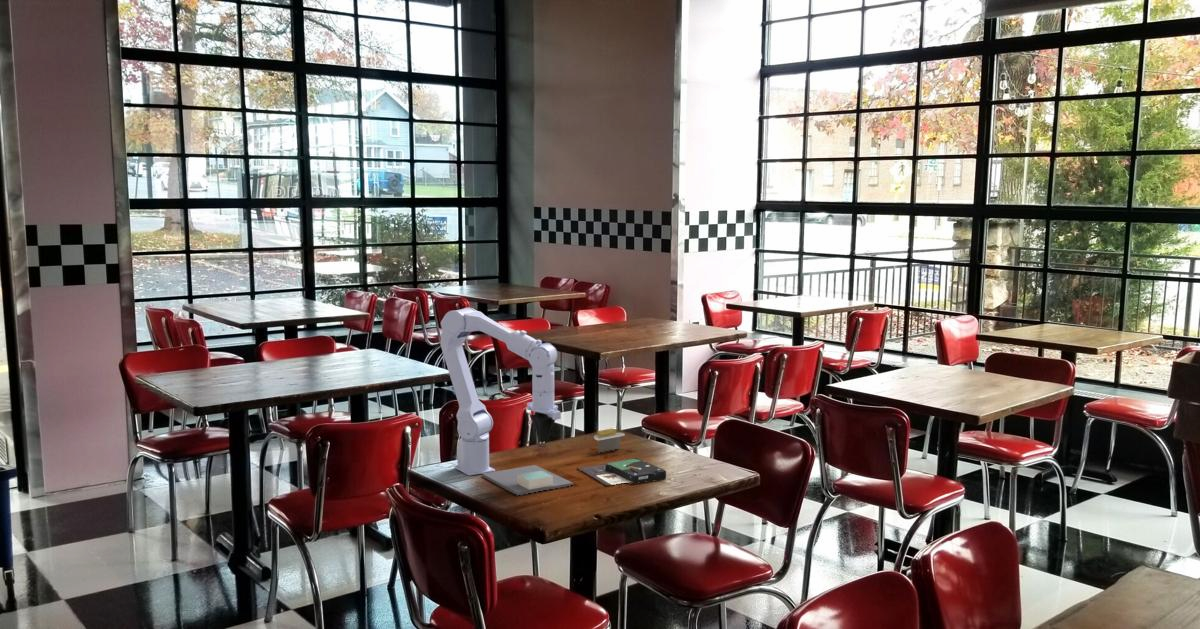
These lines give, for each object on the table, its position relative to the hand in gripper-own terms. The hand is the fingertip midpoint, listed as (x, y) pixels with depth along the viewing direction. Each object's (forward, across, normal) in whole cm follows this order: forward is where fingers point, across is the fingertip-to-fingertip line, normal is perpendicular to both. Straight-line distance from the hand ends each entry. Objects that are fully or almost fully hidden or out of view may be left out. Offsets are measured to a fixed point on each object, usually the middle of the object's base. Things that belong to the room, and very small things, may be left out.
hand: (543, 441), depth 254 cm
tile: (+8, -3, +6) cm, 10 cm away
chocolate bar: (+11, -7, -16) cm, 20 cm away
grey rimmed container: (+11, +15, -30) cm, 36 cm away
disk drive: (+11, -10, -22) cm, 27 cm away
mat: (+10, 0, +5) cm, 11 cm away
